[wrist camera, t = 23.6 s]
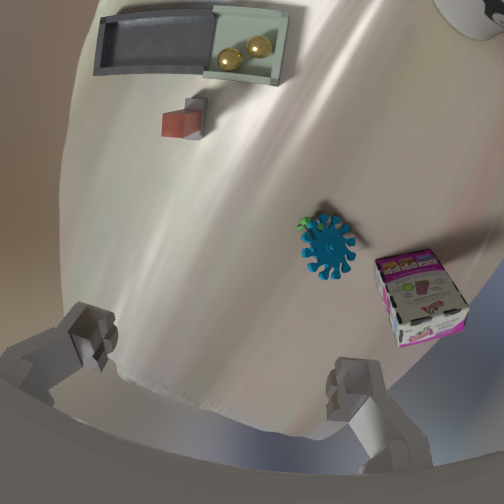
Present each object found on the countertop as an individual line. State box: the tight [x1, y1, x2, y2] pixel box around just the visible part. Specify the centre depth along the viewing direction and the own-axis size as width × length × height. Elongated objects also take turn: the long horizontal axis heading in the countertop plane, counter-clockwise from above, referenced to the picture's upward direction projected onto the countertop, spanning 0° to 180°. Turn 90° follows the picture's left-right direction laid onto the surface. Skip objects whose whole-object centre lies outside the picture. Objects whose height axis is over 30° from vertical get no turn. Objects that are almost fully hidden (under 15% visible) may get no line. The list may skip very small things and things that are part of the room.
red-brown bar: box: [161, 98, 207, 141], centre depth 37 cm, size 6×3×10 cm, turn 173°
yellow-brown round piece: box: [217, 47, 243, 71], centre depth 34 cm, size 4×4×4 cm
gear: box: [296, 214, 356, 280], centre depth 47 cm, size 11×6×10 cm
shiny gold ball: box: [246, 35, 273, 59], centre depth 33 cm, size 4×4×4 cm
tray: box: [202, 6, 289, 87], centre depth 34 cm, size 11×10×3 cm
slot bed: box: [93, 9, 217, 76], centre depth 34 cm, size 10×18×3 cm, turn 82°
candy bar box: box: [375, 249, 469, 348], centre depth 42 cm, size 11×5×16 cm, turn 106°
